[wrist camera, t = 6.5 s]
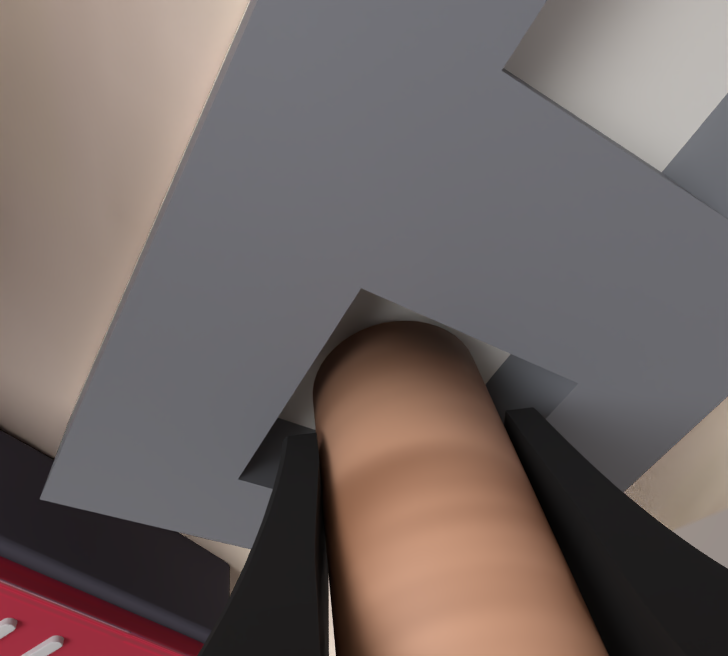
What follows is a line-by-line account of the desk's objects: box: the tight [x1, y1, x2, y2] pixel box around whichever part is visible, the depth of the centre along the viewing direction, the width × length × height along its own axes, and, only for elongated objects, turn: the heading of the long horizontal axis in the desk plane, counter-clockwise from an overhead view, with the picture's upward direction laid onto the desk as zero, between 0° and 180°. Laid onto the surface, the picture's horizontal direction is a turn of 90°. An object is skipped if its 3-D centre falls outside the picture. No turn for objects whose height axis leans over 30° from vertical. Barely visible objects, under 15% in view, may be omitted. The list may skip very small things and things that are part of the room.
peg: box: [313, 321, 609, 656], centre depth 12 cm, size 4×4×8 cm
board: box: [40, 0, 728, 549], centre depth 13 cm, size 13×20×3 cm, turn 150°
